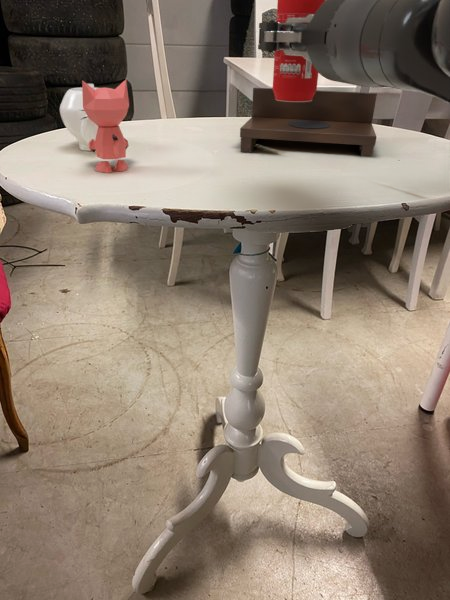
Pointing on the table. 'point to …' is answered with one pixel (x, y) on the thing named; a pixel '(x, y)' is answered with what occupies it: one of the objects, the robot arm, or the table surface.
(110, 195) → the table surface
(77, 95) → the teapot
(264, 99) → the bench
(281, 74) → the beverage can
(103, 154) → the cat figurine
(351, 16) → the robot arm
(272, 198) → the table surface
